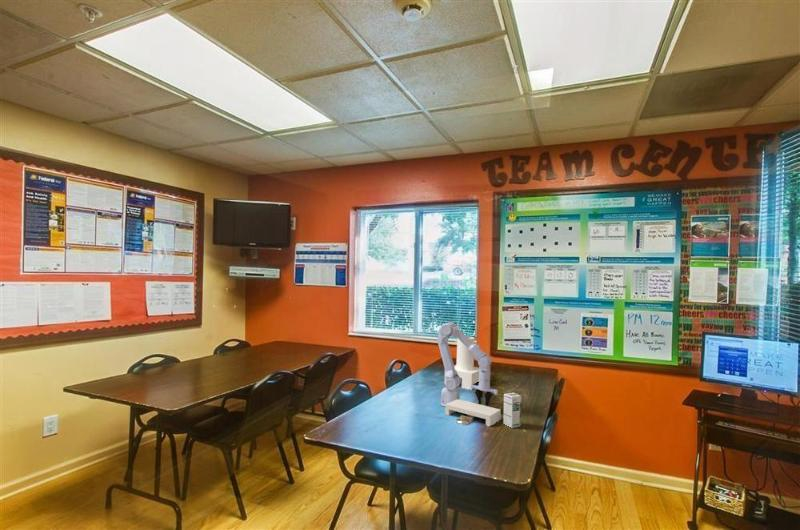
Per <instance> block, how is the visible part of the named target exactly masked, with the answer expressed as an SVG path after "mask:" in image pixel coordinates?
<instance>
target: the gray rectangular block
mask: <svg viewBox="0 0 800 530" xmlns="http://www.w3.org/2000/svg"><path fill="white" fill-rule="evenodd" d="M481 405H484V406H485V395H483V396H482V397H481ZM489 405H490V404H489ZM489 405H488V407H490V406H489ZM475 417H476V416H472V415H468V414H467V415H460V417H459V419H467V420H469V423H473V422H472V421H474V420H473V419H474V418H475Z"/></svg>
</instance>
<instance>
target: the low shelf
mask: <svg viewBox="0 0 800 530" xmlns="http://www.w3.org/2000/svg"><path fill="white" fill-rule="evenodd" d="M444 407H445V406H444ZM444 411H445V415H446V414H447V415H446V416H450V414H451V415H453V414H455V413H456V412H458V413H462V414H466V415H467V416H468V415H472V416H475V417H476V418H479V419H484V420H485V426H486V425H487V426H486V427H489V426H490V427H492V426H493V425H495V424H497V423H498V422H500V421H501V417H502V416H501V415H502V414H501V413H502V409H501V408H497V407H496V408H495V407H491V406H484V405H480V404H479V403H475V402H471V401H467V400H462V399H460V400H459V399H457V400H454V401H452V402H450V403H447V404H446V407H445V410H444ZM454 412H455V413H454ZM452 413H453V414H452ZM499 420H500V421H499ZM496 422H497V423H496ZM491 425H492V426H491Z"/></svg>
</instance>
